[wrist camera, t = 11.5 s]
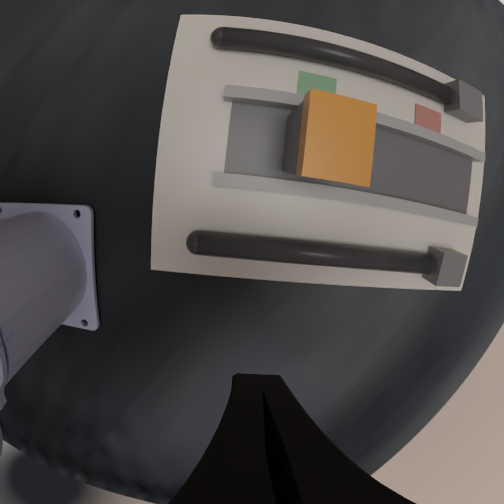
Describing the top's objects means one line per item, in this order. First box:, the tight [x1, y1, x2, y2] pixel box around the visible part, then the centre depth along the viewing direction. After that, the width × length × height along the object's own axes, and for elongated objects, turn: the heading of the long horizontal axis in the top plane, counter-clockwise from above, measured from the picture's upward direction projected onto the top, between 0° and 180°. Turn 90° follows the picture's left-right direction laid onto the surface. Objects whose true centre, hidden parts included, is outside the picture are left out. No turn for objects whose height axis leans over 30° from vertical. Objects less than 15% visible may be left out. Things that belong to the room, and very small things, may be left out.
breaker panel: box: [151, 15, 486, 291], centre depth 14 cm, size 20×14×3 cm
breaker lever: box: [282, 89, 377, 187], centre depth 12 cm, size 3×3×4 cm
